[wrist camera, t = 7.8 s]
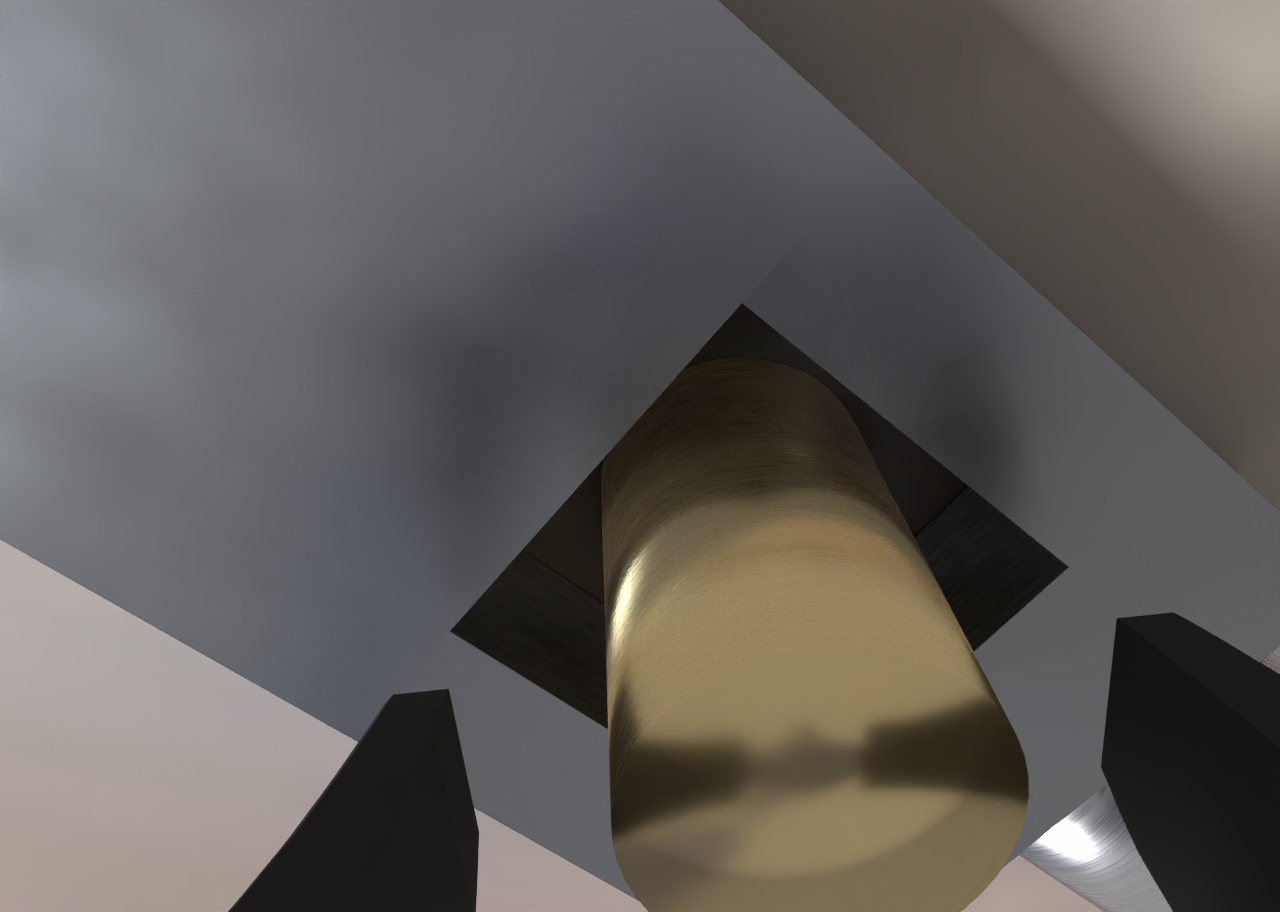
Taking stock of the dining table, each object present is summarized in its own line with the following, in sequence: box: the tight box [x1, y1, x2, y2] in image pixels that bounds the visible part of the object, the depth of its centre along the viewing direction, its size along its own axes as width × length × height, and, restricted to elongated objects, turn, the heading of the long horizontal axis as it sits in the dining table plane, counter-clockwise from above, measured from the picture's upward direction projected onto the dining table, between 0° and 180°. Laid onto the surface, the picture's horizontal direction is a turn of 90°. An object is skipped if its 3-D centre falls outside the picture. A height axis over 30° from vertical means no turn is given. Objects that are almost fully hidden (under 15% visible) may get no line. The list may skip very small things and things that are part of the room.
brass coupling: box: [601, 358, 1029, 912], centre depth 14 cm, size 4×4×7 cm
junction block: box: [0, 0, 1280, 912], centre depth 15 cm, size 30×10×3 cm, turn 50°
